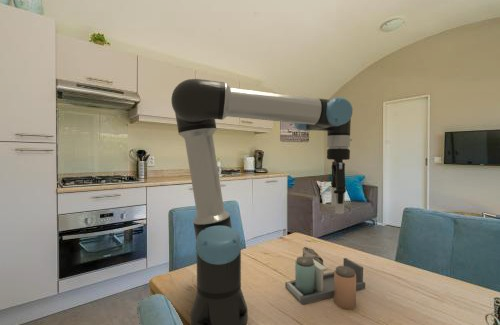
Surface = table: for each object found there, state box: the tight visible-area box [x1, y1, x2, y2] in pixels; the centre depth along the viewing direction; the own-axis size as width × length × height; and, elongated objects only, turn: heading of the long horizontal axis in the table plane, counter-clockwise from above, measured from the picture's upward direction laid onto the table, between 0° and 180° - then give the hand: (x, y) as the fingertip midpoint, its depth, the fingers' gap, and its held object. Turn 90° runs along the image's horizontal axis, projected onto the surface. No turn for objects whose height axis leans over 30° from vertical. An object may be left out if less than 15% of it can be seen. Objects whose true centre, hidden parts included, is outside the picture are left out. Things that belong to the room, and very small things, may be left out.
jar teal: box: [294, 256, 315, 296], centre depth 80 cm, size 6×6×10 cm
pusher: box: [313, 259, 328, 292], centre depth 81 cm, size 2×7×8 cm, turn 21°
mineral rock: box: [301, 246, 324, 266], centre depth 101 cm, size 15×8×4 cm, turn 169°
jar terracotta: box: [333, 265, 357, 311], centre depth 74 cm, size 6×6×10 cm
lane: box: [284, 257, 366, 305], centre depth 82 cm, size 24×10×7 cm, turn 111°
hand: (337, 208), depth 89 cm, fingers open, 13 cm apart
